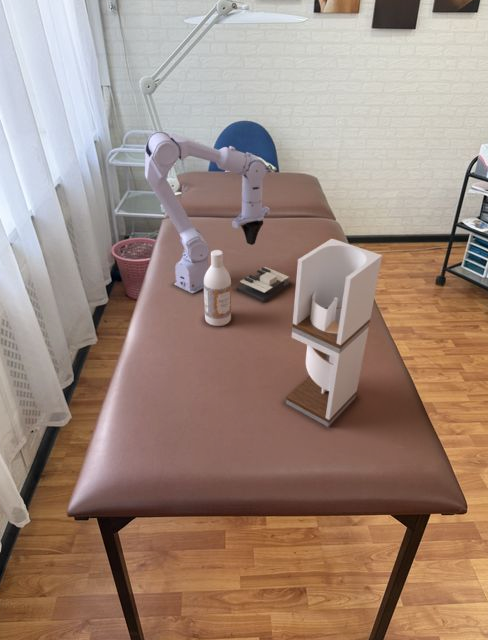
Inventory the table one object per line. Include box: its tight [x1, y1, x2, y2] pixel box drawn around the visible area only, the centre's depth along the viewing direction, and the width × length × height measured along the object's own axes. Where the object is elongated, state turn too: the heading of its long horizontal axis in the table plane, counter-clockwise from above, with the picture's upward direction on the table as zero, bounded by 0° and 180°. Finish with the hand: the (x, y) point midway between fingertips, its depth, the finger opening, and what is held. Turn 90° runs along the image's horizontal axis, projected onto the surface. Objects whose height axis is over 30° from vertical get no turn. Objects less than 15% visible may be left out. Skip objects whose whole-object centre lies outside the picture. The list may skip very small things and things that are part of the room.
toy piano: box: [236, 273, 292, 304], centre depth 149 cm, size 10×13×3 cm
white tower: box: [285, 238, 383, 428], centre depth 101 cm, size 11×11×35 cm
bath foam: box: [203, 249, 232, 327], centre depth 130 cm, size 7×7×20 cm
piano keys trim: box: [239, 266, 290, 293], centre depth 147 cm, size 9×12×1 cm
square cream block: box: [260, 272, 277, 286], centre depth 147 cm, size 4×4×2 cm
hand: (250, 243), depth 150 cm, fingers closed
